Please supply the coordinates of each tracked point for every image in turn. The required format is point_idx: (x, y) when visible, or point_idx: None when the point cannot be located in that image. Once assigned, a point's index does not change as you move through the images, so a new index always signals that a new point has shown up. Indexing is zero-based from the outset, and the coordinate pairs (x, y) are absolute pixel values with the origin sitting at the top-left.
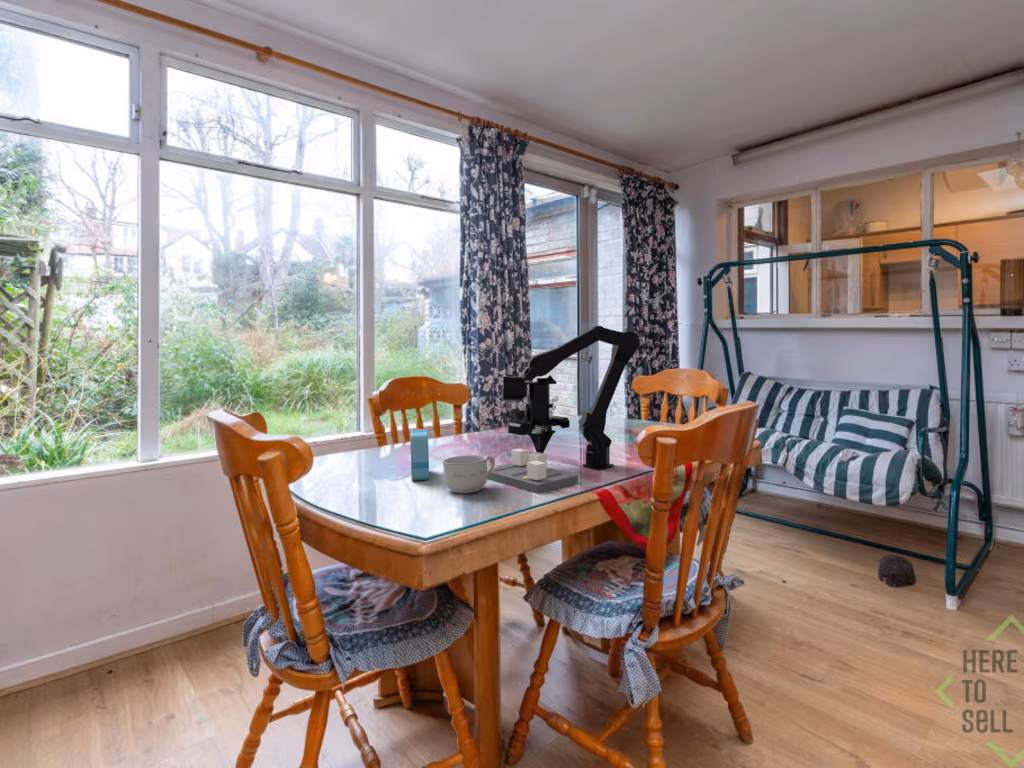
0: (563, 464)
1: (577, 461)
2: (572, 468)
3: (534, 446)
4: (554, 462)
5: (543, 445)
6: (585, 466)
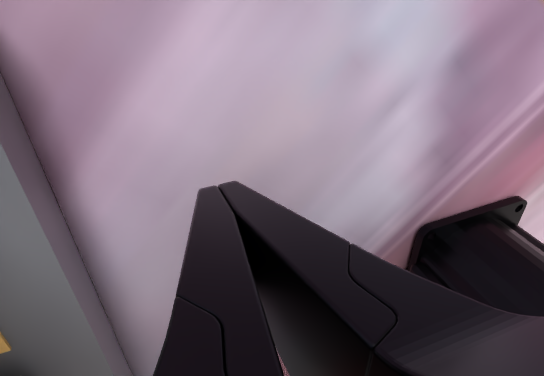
0: (406, 123)
1: (518, 103)
2: (353, 236)
3: (180, 274)
4: (426, 21)
5: (280, 345)
6: (414, 248)
